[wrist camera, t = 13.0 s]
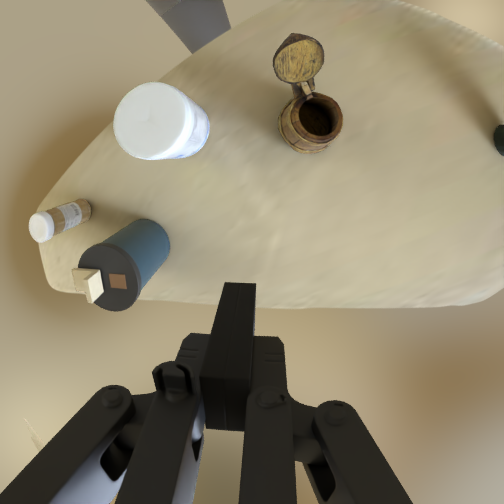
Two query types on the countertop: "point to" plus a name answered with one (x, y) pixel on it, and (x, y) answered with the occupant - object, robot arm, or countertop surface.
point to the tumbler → (127, 262)
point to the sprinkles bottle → (58, 219)
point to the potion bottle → (499, 139)
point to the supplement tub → (160, 123)
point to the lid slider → (88, 282)
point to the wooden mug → (305, 97)
